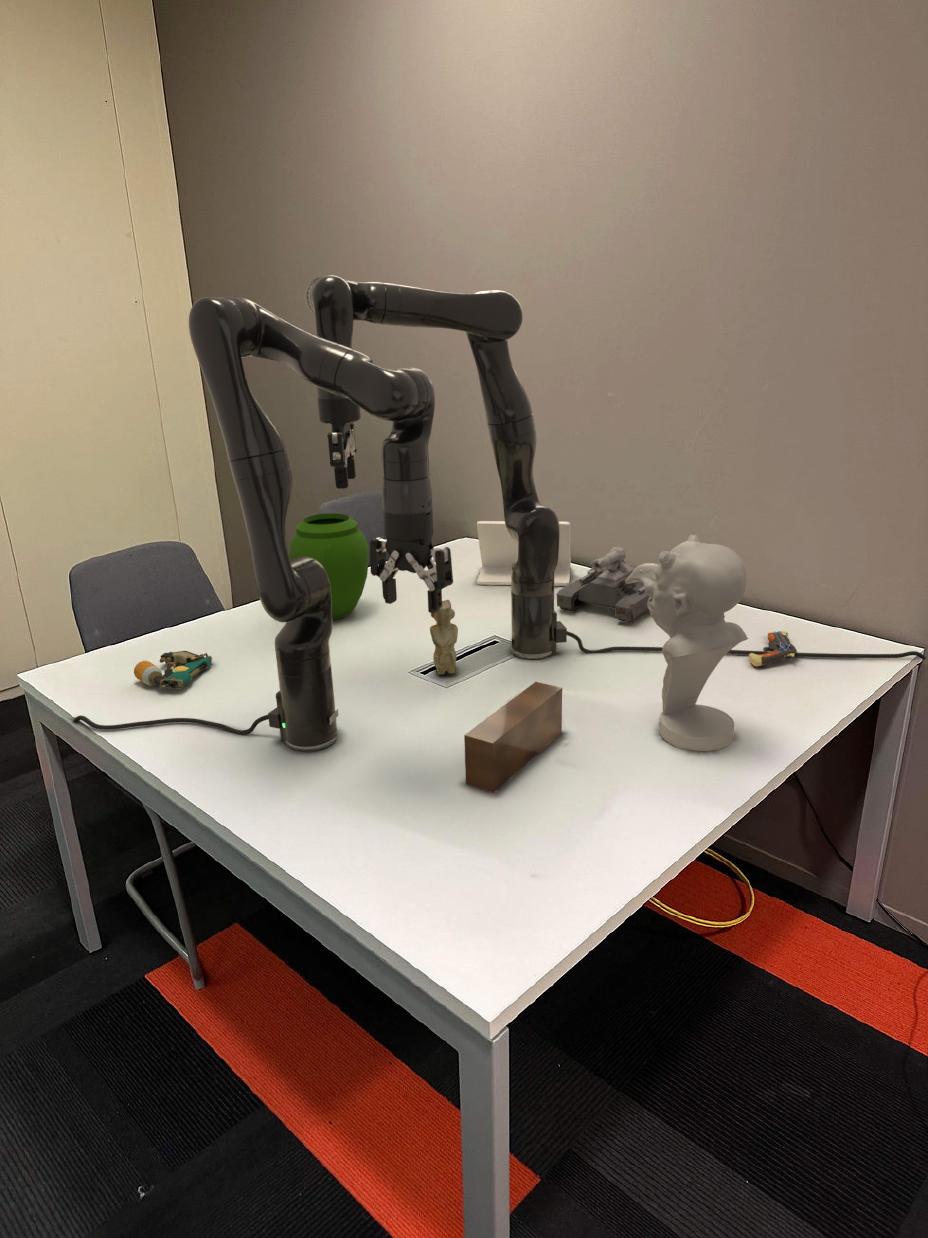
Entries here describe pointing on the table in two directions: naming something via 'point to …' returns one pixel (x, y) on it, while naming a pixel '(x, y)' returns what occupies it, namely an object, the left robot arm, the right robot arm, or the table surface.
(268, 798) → the table surface
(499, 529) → the tablet stand
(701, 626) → the bust sculpture
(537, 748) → the bar
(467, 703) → the table surface
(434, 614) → the sculpture
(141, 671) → the spray gun
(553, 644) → the right robot arm
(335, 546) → the vase
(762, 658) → the toy gun
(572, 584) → the toy
